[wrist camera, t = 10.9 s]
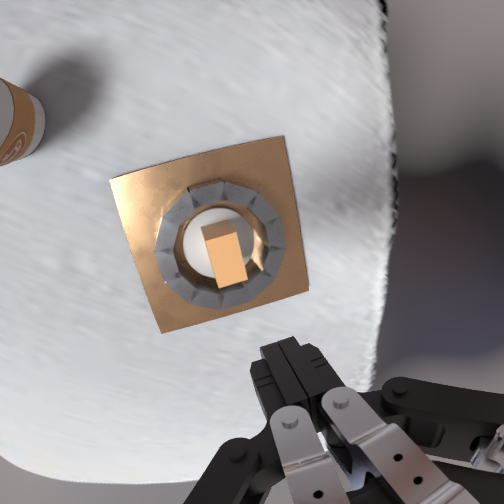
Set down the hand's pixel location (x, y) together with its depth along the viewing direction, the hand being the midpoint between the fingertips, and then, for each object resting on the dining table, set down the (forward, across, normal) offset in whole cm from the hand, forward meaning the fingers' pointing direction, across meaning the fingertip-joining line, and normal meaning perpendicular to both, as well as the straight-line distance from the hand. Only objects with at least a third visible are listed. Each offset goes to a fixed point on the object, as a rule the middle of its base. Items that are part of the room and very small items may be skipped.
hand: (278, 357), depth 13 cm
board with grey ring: (+19, 0, 0) cm, 19 cm away
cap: (+18, 0, 0) cm, 18 cm away
